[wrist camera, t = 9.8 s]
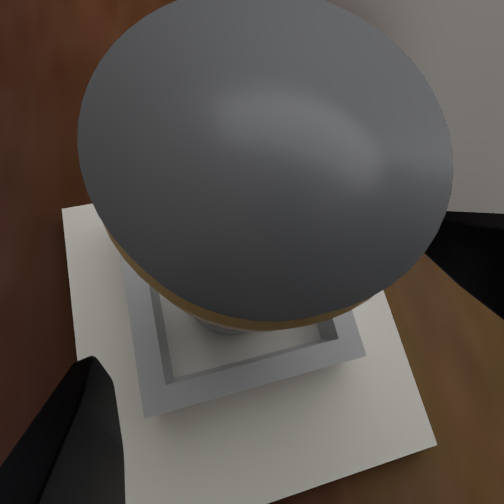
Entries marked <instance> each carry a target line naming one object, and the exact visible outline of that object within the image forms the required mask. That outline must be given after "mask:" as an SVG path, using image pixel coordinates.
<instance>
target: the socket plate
mask: <svg viewBox="0 0 504 504" xmlns="http://www.w3.org/2000/svg"><path fill="white" fill-rule="evenodd" d="M62 215H63V225H64V235H65V245H66V254H67V264H68V274H69V283H70V293H71V303H72V313H73V322H74V332H75V342H76V352H77V361H79V360H81V359H84V358H86V357H89V356H95V357H96V358H97V359H98V360H99V362H100V363H101V364H102V366H103V367H104V369H105V370H106V371H107V373H108V374H109V375H110V377H111V379H112V381H113V384H114V388H115V395H116V401H117V408H118V415H119V421H120V428H121V435H122V442H123V450H124V469H125V503H126V504H268V503H271V502H274V501H277V500H279V499H282V498H285V497H288V496H291V495H294V494H297V493H300V492H303V491H305V490H308V489H311V488H314V487H317V486H320V485H323V484H326V483H329V482H331V481H334V480H337V479H340V478H343V477H346V476H349V475H352V474H355V473H358V472H360V471H363V470H366V469H369V468H372V467H375V466H378V465H381V464H384V463H386V462H389V461H392V460H395V459H398V458H401V457H404V456H407V455H410V454H412V453H415V452H418V451H421V450H424V449H427V448H430V447H433V446H436V445H437V443H436V440H435V437H434V434H433V431H432V428H431V426H430V423H429V420H428V417H427V414H426V411H425V408H424V405H423V403H422V400H421V397H420V394H419V391H418V388H417V385H416V383H415V380H414V377H413V374H412V371H411V368H410V365H409V363H408V360H407V357H406V354H405V351H404V348H403V345H402V343H401V340H400V337H399V334H398V331H397V328H396V325H395V322H394V320H393V317H392V314H391V311H390V308H389V305H388V302H387V300H386V297H385V294H384V291H383V290H382V291H380V292H379V293H377V294H375V295H374V296H373V297H372V298H370V299H369V300H367V301H366V302H364V303H362V304H361V305H359V306H357V307H356V308H354V309H352V310H351V311H349V312H347V313H344V314H342V315H339V316H337V317H335V318H332V319H330V320H327V321H323V322H319V323H316V324H312V325H308V326H304V327H297V328H291V329H284V330H277V331H268V332H248V333H244V334H239V335H225V334H220V333H217V332H214V331H212V330H210V329H208V328H206V327H205V326H203V325H202V324H201V323H200V322H199V321H198V320H197V319H195V318H194V317H193V316H191V315H189V314H188V313H186V312H184V311H183V310H181V309H180V308H178V307H176V306H175V305H174V304H172V303H171V302H170V301H169V300H167V299H166V298H165V297H164V296H162V295H161V294H160V293H158V292H157V291H156V290H155V289H154V288H153V287H151V286H150V285H149V284H148V283H147V282H145V281H144V280H143V279H142V278H141V277H140V276H139V275H138V274H137V273H136V272H135V271H134V270H133V269H132V268H131V266H130V265H129V264H128V263H127V262H126V261H125V260H124V259H123V257H122V256H121V254H120V253H119V251H118V250H117V248H116V247H115V245H114V244H113V242H112V241H111V239H110V237H109V235H108V233H107V231H106V229H105V227H104V224H103V222H102V220H101V219H100V217H99V216H98V214H97V212H96V210H95V207H94V205H93V204H88V205H83V206H77V207H71V208H65V209H62Z"/></svg>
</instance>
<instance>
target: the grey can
mask: <svg viewBox="0 0 504 504" xmlns="http://www.w3.org/2000/svg"><path fill="white" fill-rule="evenodd" d="M78 153H79V161H80V169H81V172H82V175H83V179H84V182H85V186H86V189H87V192H88V195H89V197H90V199H91V201H92V203H93V205H94V207H95V210H96V212H97V214H98V216H99V217H100V219H101V220H102V222H103V224H104V227H105V229H106V231H107V233H108V235H109V237H110V239H111V241H112V242H113V244H114V245H115V247H116V248H117V250H118V251H119V253H120V254H121V256H122V257H123V259H124V260H125V261H126V262H127V263H128V264H129V265H130V266H131V268H132V269H133V270H134V271H135V272H136V273H137V274H138V275H139V276H140V277H141V278H142V279H143V280H144V281H145V282H147V283H148V284H149V285H150V286H151V287H153V288H154V289H155V290H156V291H157V292H158V293H160V294H161V295H162V296H164V297H165V298H166V299H167V300H169V301H170V302H171V303H172V304H174V305H175V306H176V307H178V308H180V309H181V310H183V311H184V312H186V313H188V314H189V315H191V316H193V317H194V318H195V319H197V320H198V321H199V322H200V323H201V324H202V325H203V326H205V327H206V328H208V329H210V330H212V331H214V332H217V333H220V334H225V335H239V334H244V333H248V332H268V331H277V330H284V329H291V328H297V327H304V326H308V325H312V324H316V323H319V322H323V321H327V320H330V319H332V318H335V317H337V316H339V315H342V314H344V313H347V312H349V311H351V310H352V309H354V308H356V307H357V306H359V305H361V304H362V303H364V302H366V301H367V300H369V299H370V298H372V297H373V296H374V295H375V294H377V293H379V292H380V291H382V290H384V289H385V288H387V287H389V286H390V285H392V284H393V283H394V282H395V281H397V280H398V279H399V278H400V277H401V276H403V275H404V274H405V273H406V272H407V271H409V270H410V269H411V267H412V266H413V265H414V264H415V263H416V262H417V261H418V260H419V258H420V257H421V256H422V255H423V254H424V253H425V251H426V250H427V248H428V247H429V245H430V243H431V242H432V240H433V239H434V237H435V236H436V234H437V232H438V230H439V228H440V225H441V223H442V221H443V218H444V216H445V214H446V210H447V206H448V203H449V199H450V195H451V189H452V179H453V152H452V146H451V140H450V134H449V130H448V127H447V124H446V120H445V117H444V114H443V111H442V109H441V107H440V105H439V102H438V100H437V98H436V96H435V94H434V92H433V90H432V89H431V87H430V85H429V84H428V82H427V80H426V79H425V77H424V76H423V74H422V73H421V72H420V71H419V69H418V68H417V67H416V65H415V64H414V63H413V62H412V60H411V59H410V58H409V57H408V56H407V55H406V54H405V53H404V52H403V51H402V50H401V49H400V48H399V47H398V46H397V45H396V44H395V43H394V42H393V41H391V40H390V39H389V38H388V37H387V36H386V35H384V34H383V33H382V32H381V31H379V30H378V29H377V28H375V27H373V26H372V25H371V24H369V23H368V22H366V21H365V20H363V19H362V18H360V17H358V16H356V15H354V14H352V13H351V12H349V11H347V10H345V9H343V8H340V7H338V6H335V5H334V4H331V3H329V2H327V1H324V0H177V1H175V2H172V3H170V4H168V5H165V6H163V7H161V8H159V9H158V10H156V11H154V12H152V13H151V14H149V15H147V16H145V17H144V18H143V19H141V20H140V21H139V22H137V23H136V24H135V25H133V26H132V27H131V28H129V29H128V30H127V31H126V32H125V33H124V34H123V35H122V36H121V37H120V38H119V39H118V40H117V41H116V42H115V43H114V44H113V45H112V46H111V48H110V49H109V50H108V52H107V53H106V54H105V55H104V57H103V58H102V59H101V61H100V62H99V64H98V66H97V68H96V70H95V71H94V73H93V75H92V77H91V79H90V81H89V84H88V86H87V89H86V92H85V95H84V97H83V100H82V105H81V110H80V116H79V121H78Z"/></svg>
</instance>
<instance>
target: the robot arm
mask: <svg viewBox="0 0 504 504" xmlns="http://www.w3.org/2000/svg"><path fill="white" fill-rule="evenodd" d="M425 254H426V255H427V256H428V257H429V258H430V259H431V260H432V261H433V262H434V263H436V264H437V265H438V266H439V267H440V268H441V269H442V270H443V271H444V272H445V273H446V274H447V275H448V276H450V277H451V278H452V279H453V280H454V281H455V282H456V283H457V284H458V285H460V286H461V287H462V288H463V289H464V290H466V291H467V292H468V293H470V294H471V295H472V296H473V297H475V298H476V299H477V300H479V301H480V302H481V303H482V304H484V305H485V306H486V307H488V308H489V309H490V310H492V311H493V312H494V313H495V314H497V315H498V316H499V317H501V318H502V319H503V320H504V214H495V213H475V212H453V211H446V214H445V216H444V218H443V221H442V223H441V225H440V228H439V230H438V232H437V234H436V236H435V237H434V239H433V240H432V242H431V243H430V245H429V247H428V248H427V250H426V251H425ZM0 504H126V503H125V469H124V450H123V442H122V435H121V428H120V421H119V415H118V408H117V401H116V395H115V388H114V384H113V381H112V379H111V377H110V375H109V374H108V373H107V371H106V370H105V369H104V367H103V366H102V364H101V363H100V362H99V360H98V359H97V358H96V357H95V356H89V357H86V358H84V359H81V360H79V361H77V362H75V363H74V364H73V365H72V366H71V367H70V369H69V370H68V372H67V373H66V375H65V376H64V377H63V379H62V380H61V382H60V383H59V384H58V386H57V387H56V389H55V390H54V392H53V393H52V394H51V396H50V397H49V399H48V400H47V401H46V403H45V404H44V406H43V407H42V409H41V410H40V411H39V413H38V414H37V416H36V417H35V418H34V420H33V421H32V423H31V424H30V426H29V427H28V428H27V430H26V431H25V433H24V434H23V436H22V437H21V438H20V440H19V441H18V443H17V444H16V445H15V447H14V448H13V450H12V451H11V453H10V454H9V455H8V457H7V458H6V460H5V461H4V462H3V464H2V465H1V467H0Z"/></svg>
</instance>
